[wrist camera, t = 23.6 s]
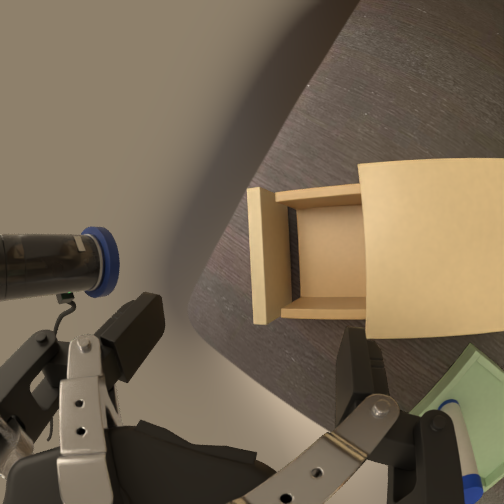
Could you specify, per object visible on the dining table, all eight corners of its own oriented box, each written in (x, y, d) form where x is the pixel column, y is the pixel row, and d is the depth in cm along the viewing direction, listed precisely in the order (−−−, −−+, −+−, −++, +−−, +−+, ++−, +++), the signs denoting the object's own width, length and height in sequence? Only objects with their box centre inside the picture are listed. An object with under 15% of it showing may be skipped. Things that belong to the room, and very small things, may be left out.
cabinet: (371, 313, 26) (365, 339, 19) (365, 186, 26) (357, 163, 19) (500, 305, 20) (534, 326, 13) (495, 180, 20) (528, 159, 13)
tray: (392, 427, 25) (391, 439, 23) (470, 342, 22) (476, 350, 19) (482, 481, 18) (484, 492, 16) (549, 413, 15) (556, 422, 12)
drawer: (270, 308, 30) (240, 323, 24) (265, 201, 30) (233, 190, 24) (412, 307, 24) (420, 326, 18) (407, 188, 24) (414, 170, 18)
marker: (439, 423, 22) (449, 514, 9) (433, 405, 23) (445, 497, 10) (461, 412, 21) (484, 500, 8) (456, 394, 21) (482, 481, 9)
